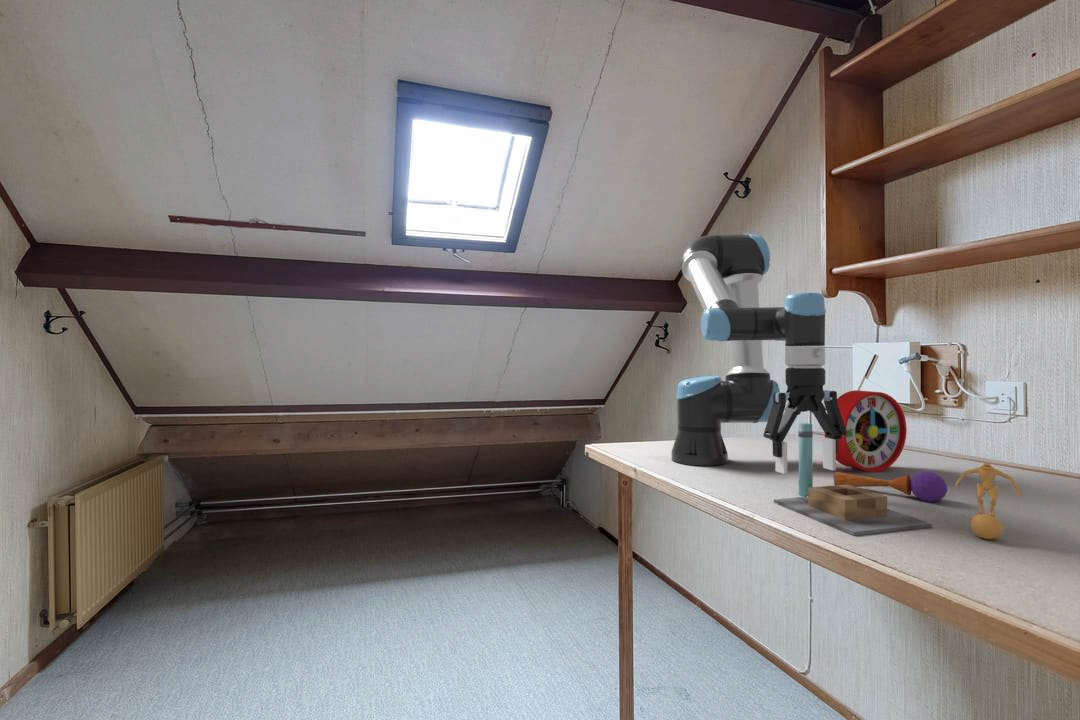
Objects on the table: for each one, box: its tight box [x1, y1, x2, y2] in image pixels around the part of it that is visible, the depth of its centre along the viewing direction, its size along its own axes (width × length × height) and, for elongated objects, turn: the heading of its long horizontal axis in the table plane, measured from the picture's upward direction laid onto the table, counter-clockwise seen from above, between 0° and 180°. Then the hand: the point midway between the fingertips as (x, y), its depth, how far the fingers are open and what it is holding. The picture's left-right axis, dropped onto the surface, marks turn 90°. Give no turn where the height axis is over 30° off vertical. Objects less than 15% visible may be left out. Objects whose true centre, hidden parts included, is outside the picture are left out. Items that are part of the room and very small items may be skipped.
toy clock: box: [824, 389, 908, 473], centre depth 134 cm, size 20×6×20 cm, turn 106°
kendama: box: [833, 470, 948, 503], centre depth 112 cm, size 6×6×20 cm
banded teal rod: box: [797, 422, 814, 497], centre depth 112 cm, size 3×3×15 cm
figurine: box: [954, 461, 1022, 540], centre depth 86 cm, size 8×6×12 cm
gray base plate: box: [773, 484, 933, 536], centre depth 99 cm, size 20×16×4 cm
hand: (805, 470), depth 112 cm, fingers open, 11 cm apart
